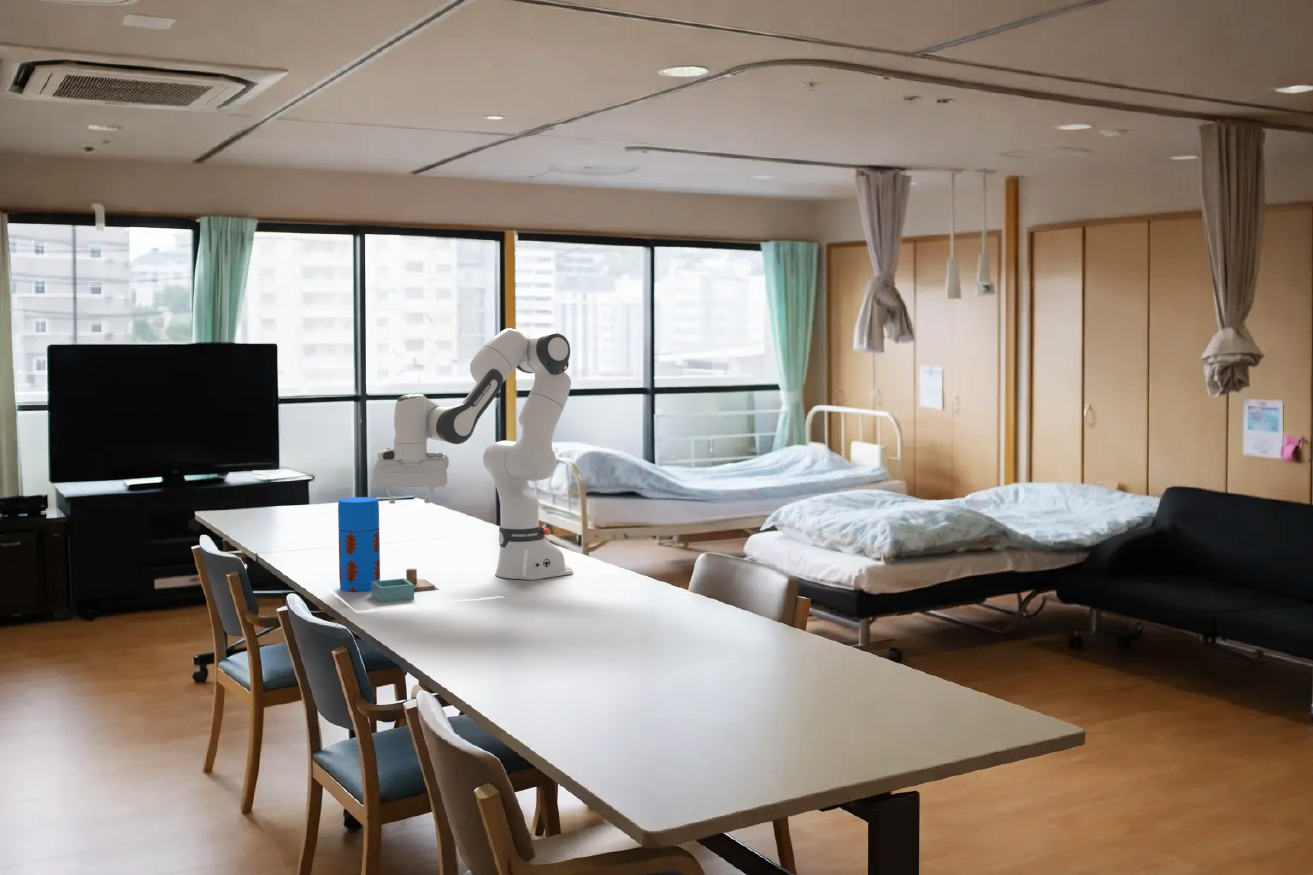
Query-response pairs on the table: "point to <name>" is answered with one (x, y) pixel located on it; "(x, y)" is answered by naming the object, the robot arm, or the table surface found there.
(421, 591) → the mat
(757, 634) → the table surface
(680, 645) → the table surface
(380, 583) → the teal open box
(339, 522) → the thermos
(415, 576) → the lid
